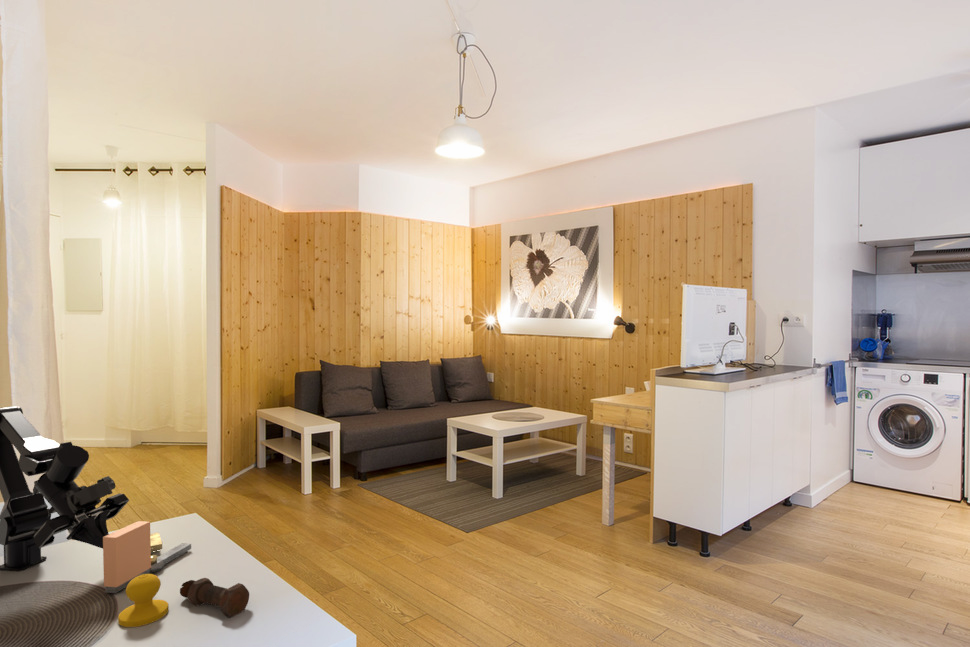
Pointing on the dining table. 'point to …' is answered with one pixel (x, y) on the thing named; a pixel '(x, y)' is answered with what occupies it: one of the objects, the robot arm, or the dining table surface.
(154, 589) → the doorknob
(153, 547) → the keeper
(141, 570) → the peach block with bar
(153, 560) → the pintle
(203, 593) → the bolt
